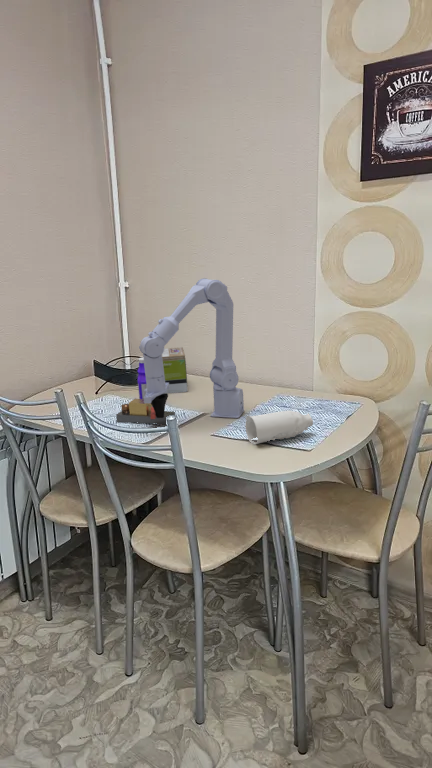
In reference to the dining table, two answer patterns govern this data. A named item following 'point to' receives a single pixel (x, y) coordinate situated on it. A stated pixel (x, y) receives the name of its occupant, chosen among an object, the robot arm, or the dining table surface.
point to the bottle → (141, 379)
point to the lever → (153, 413)
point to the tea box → (175, 370)
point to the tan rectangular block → (139, 407)
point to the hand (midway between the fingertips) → (160, 417)
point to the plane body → (140, 416)
